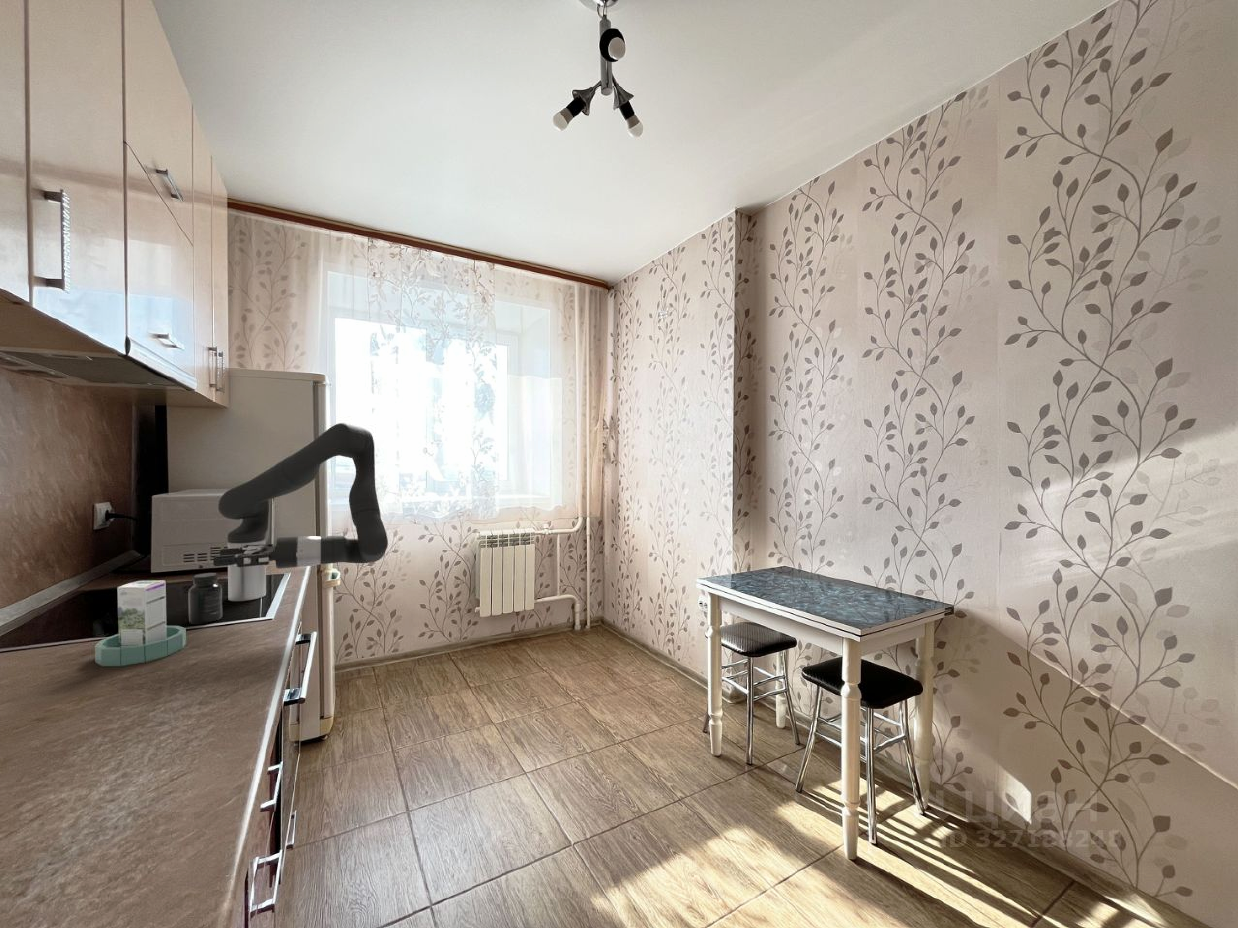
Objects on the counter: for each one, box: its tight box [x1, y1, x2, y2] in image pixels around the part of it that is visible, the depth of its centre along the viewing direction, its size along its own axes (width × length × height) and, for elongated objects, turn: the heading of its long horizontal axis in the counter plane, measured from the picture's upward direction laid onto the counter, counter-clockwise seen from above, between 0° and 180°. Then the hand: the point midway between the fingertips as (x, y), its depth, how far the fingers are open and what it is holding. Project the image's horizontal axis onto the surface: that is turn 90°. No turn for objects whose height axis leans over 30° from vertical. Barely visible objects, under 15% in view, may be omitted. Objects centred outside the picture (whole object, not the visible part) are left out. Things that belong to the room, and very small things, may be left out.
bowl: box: [94, 625, 187, 667], centre depth 110 cm, size 14×14×4 cm
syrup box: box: [116, 580, 167, 647], centre depth 110 cm, size 6×6×14 cm
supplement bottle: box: [188, 572, 223, 625], centre depth 131 cm, size 7×7×12 cm
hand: (216, 557), depth 117 cm, fingers open, 8 cm apart
